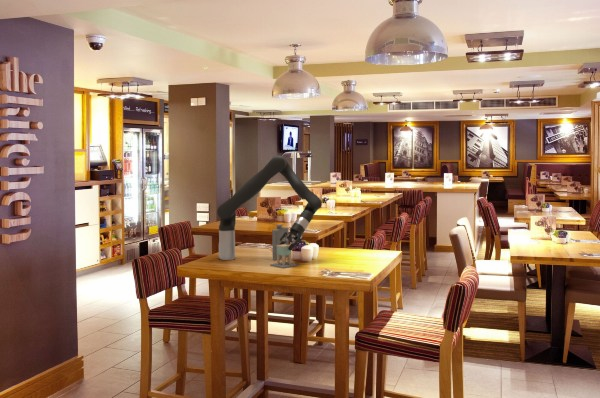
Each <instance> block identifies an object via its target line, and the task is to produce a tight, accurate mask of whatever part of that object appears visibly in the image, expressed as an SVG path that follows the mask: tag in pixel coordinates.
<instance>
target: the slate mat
mask: <svg viewBox="0 0 600 398" xmlns="http://www.w3.org/2000/svg"><path fill="white" fill-rule="evenodd" d="M269 265H270V266H271V267H273V268H274V267H275V268H279V269H280V268H281V269H287V268H294V267H298V266H299V264H298V263H295V262H294V263H293V262H291V264H288V261H286V263H285V265H284V266H283V265H282V261H280V264H277V262H276V263H270V264H269Z"/></svg>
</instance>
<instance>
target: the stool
mask: <svg viewBox="0 0 600 398" xmlns="http://www.w3.org/2000/svg"><path fill="white" fill-rule="evenodd" d="M290 245H291V244H289V245H286V244H283V245H277V260H276V263H277V264H280V262H282V265H283V266H284V265H285V263H286V262H288V264H291V263H292V261H291V260H292V259H291V258H292V257H291V256H292V250H291V251H290V250H289V249H288V248H289V246H290ZM280 255H282V258H281V261H280ZM286 255H288V257H286ZM286 258H287V261H286Z"/></svg>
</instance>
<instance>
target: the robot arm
mask: <svg viewBox="0 0 600 398" xmlns="http://www.w3.org/2000/svg"><path fill="white" fill-rule="evenodd" d="M277 174H281V175H282V176H283V177H284V179H286V181H287V182H288V184H289V185H290V187H291V189H292V190H293V191H294V192H295V193H296V195H297V196H298V197H299V198H300V199H301V200H305V201H306V202H307V204H306V205H305V206H304V209H303V210H302V211H301V213H300V214H299V216H298V217H297V218H296V219H295V221H294V223H293V224H292V225H291V227H290V228H289V231H288V233H286V232H285V233H284V234H283V236H282V237H281V238H280V241H281V243H280V244H279V245H283V244H285V243H286V242H291V244H289V245H290V246H289V248H288V249H289V250H290V251H291V252H292V250H293V249H294V248H295V247H296V246H299V245H300V243H301V242H302V240H303V239H304V237H303V234H304V233H305V231H306V230H307V228H308V227H309V225H310V223H311V222H312V220H313V217H314V215H315V214H316V212H317V211H318V210H320V208H322V205H323V203H322V200H321V198H320V197H319V196H318V195H317V194H315V193H314V192H312V191H311V190H310V188H309V187H308V186H307V185H306V184H305V183H304V182H303V181H302V179H300V177H299V176H298V175H297V173H296V172H295V171H294V169H292V167H291V165H290V164H289V162H288V161H287V159H286V157H284V156H282V155H275V156H273V157H272V158H271V159H270V160H269V161H268V162H267V163H266V164H265V166H264V167H263V168H262V169H260V170H259V171H258V172H256V174H254V175H253V176H251V178H249V179H248V180H247V181H245V182H244V183H243V184H242V185H241V187H239V189H237V190H236V192H235V193H234V194H233V195H232V196H231V197H230V198H228V199H227V200H225V202H224V201H223V203H221V204H220V205H219V206H218V207H217V212H216V213H217V216H218V217H219V219H220V220H219V225H218V238H219V239H218V241H219V242H218V259H219V260H223V261H230V260H235V259H236V234H235V233H236V231H235V229H236V211H237V210H238V209H239V208H240V207H241V206H242V205H243V204H246V203H247V202H248V201H250V200H251V199H252V198H254V197H255V196H256V195H257V194H259V192H261V191H262V190H263V188H264V187H265V186H266V185H267V183H268V182H270V180H271V179H273V178H274V177H275V176H276V175H277ZM286 238H287V239H288V240H287V239H286ZM285 240H286V241H285ZM284 241H285V242H284Z"/></svg>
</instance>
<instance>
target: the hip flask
mask: <svg viewBox="0 0 600 398" xmlns="http://www.w3.org/2000/svg"><path fill="white" fill-rule="evenodd" d="M275 226H276V228H275V229H272V230H271V232H272V234H271V236H272V237H271V240H272V241H271V242H272V244H271V245H272V247H271V248H272V250H271V251H272V261H277V245H279V244H280V243H281V241H280V238H281V237H282V236H283V234H284V233H285V232H286V233H289V227H288V226H284V227H283V224H276V225H275ZM286 239H287V238H286ZM287 240H288V239H287ZM285 241H286V240H285ZM285 241H284V242H285ZM289 242H290V241H289ZM289 242H286V243H285V244H286V245H290V244H289ZM286 258H288V255H286ZM280 259H281V260H282V255H280Z"/></svg>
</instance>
